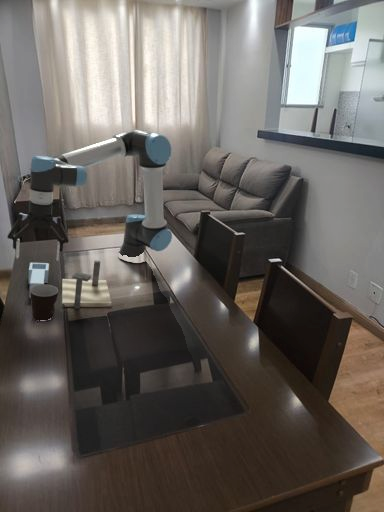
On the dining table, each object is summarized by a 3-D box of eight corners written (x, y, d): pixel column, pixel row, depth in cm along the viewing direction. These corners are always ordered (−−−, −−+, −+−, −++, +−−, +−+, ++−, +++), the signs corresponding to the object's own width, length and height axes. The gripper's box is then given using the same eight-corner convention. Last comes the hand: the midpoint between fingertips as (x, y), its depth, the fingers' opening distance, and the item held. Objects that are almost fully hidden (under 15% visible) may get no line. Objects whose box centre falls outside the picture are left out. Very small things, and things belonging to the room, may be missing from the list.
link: (29, 276, 147) (30, 262, 145) (48, 276, 149) (48, 263, 147) (25, 298, 130) (26, 283, 128) (46, 298, 133) (47, 283, 131)
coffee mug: (47, 326, 116) (48, 298, 113) (23, 319, 118) (24, 292, 114) (66, 310, 127) (68, 285, 124) (44, 304, 128) (45, 279, 125)
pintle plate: (62, 282, 147) (64, 255, 143) (105, 283, 153) (108, 257, 149) (62, 308, 128) (64, 278, 124) (111, 309, 134) (115, 280, 130)
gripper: (-1, 200, 118) (-2, 260, 124) (78, 208, 127) (73, 264, 133) (2, 195, 124) (1, 252, 131) (78, 203, 133) (73, 256, 140)
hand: (37, 258), depth 132 cm, fingers open, 13 cm apart
